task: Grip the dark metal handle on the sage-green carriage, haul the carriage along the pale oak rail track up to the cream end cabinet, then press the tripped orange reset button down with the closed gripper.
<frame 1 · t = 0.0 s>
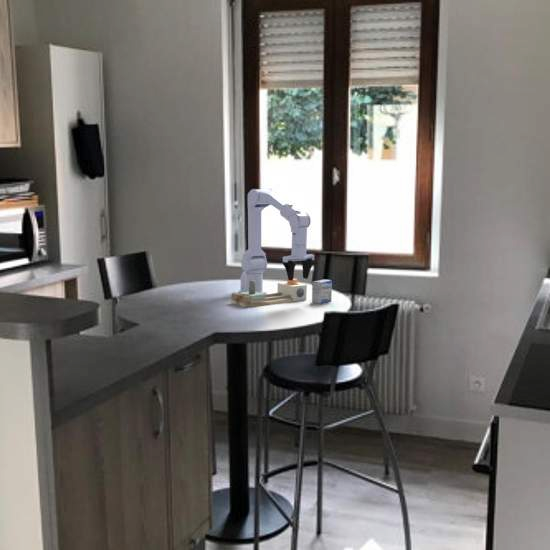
hand: (298, 279, 290), 10 cm above the countertop, tool pointing down, fingers open, 7 cm apart
medicine box: (321, 302, 299), on the countertop
carriage: (252, 289, 291), point 6 cm above the countertop, slide at 0.0 cm
reset button: (292, 286, 304), point 5 cm above the countertop, slide at 0.0 cm
end cabinet: (291, 298, 305), on the countertop
rail track: (262, 302, 295), on the countertop
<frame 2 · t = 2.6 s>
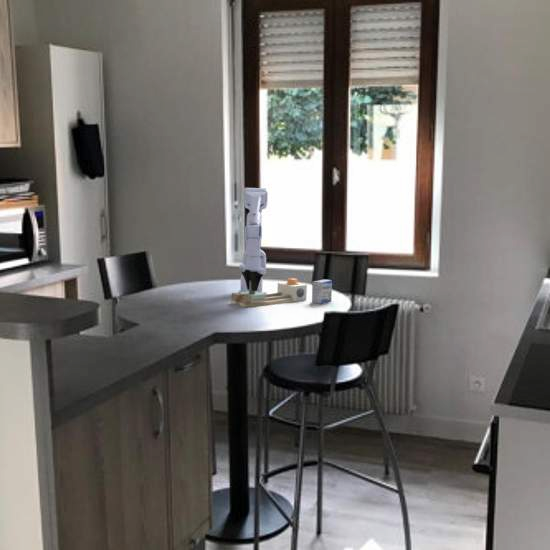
hand: (252, 290, 291), 5 cm above the countertop, tool pointing down, fingers closed on carriage, 2 cm apart
carriage: (252, 289, 291), point 6 cm above the countertop, slide at 0.0 cm, touching gripper
everything else where it was.
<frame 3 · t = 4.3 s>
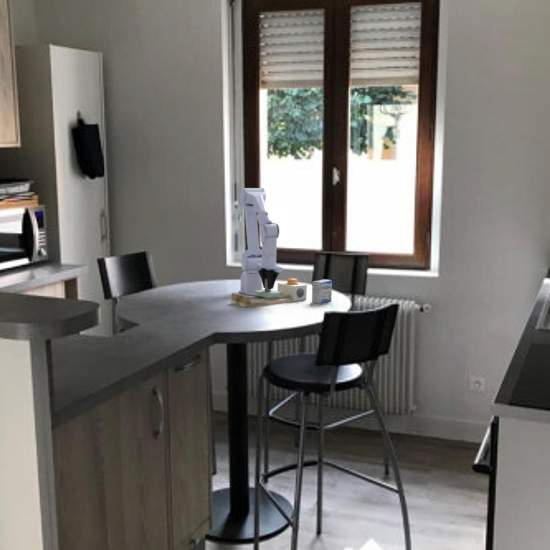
hand: (268, 288, 296), 5 cm above the countertop, tool pointing down, fingers closed on carriage, 2 cm apart
carriage: (267, 287, 296), point 6 cm above the countertop, slide at 7.8 cm, touching gripper
everything else where it was.
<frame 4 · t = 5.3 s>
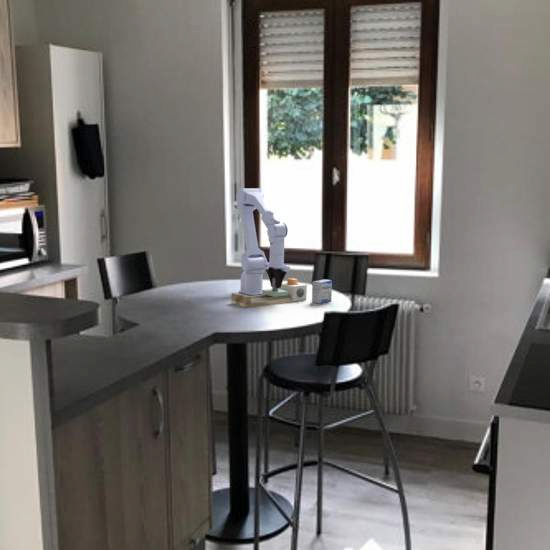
hand: (275, 287, 298), 5 cm above the countertop, tool pointing down, fingers closed on carriage, 2 cm apart
carriage: (275, 286, 298), point 6 cm above the countertop, slide at 11.6 cm, touching gripper
everything else where it was.
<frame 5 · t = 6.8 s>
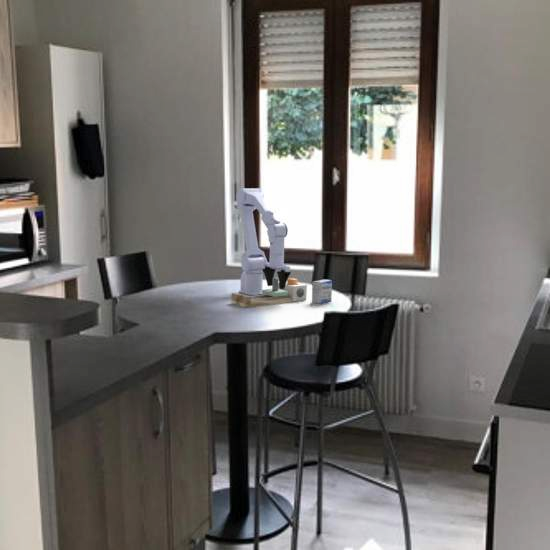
hand: (275, 287, 298), 5 cm above the countertop, tool pointing down, fingers open, 7 cm apart
carriage: (275, 286, 298), point 6 cm above the countertop, slide at 11.6 cm
everything else where it was.
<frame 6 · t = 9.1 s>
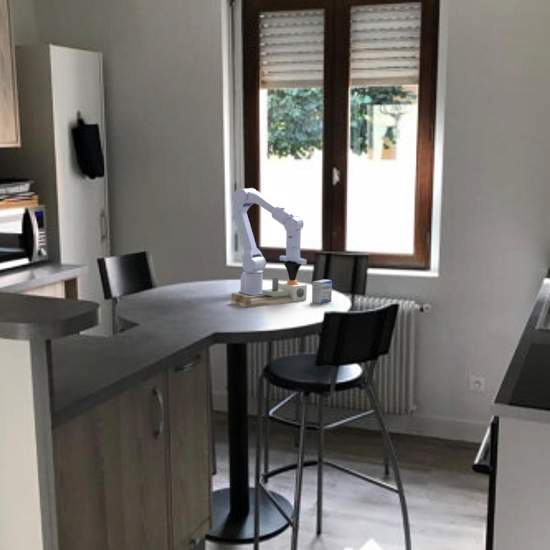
hand: (292, 280, 303), 8 cm above the countertop, tool pointing down, fingers closed, pressing on reset button
reset button: (292, 287, 304), point 5 cm above the countertop, slide at 0.4 cm, touching gripper
everything else where it was.
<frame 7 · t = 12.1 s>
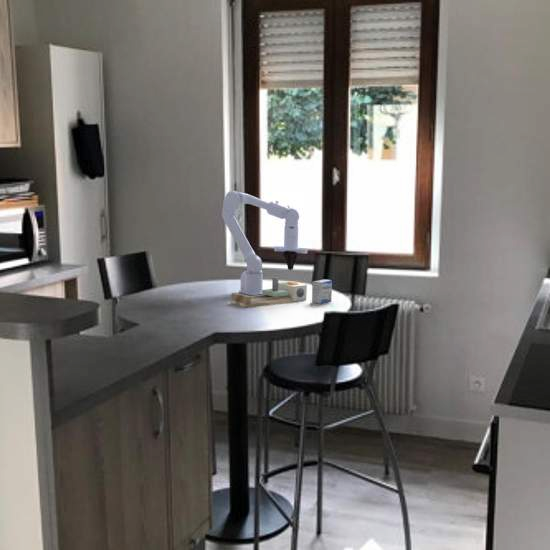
hand: (290, 269, 312), 10 cm above the countertop, tool pointing down, fingers closed
reset button: (292, 289, 304), point 4 cm above the countertop, slide at 1.5 cm
everything else where it was.
at the end: carriage slide at 11.6 cm; reset button slide at 1.5 cm; the gripper is holding nothing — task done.
